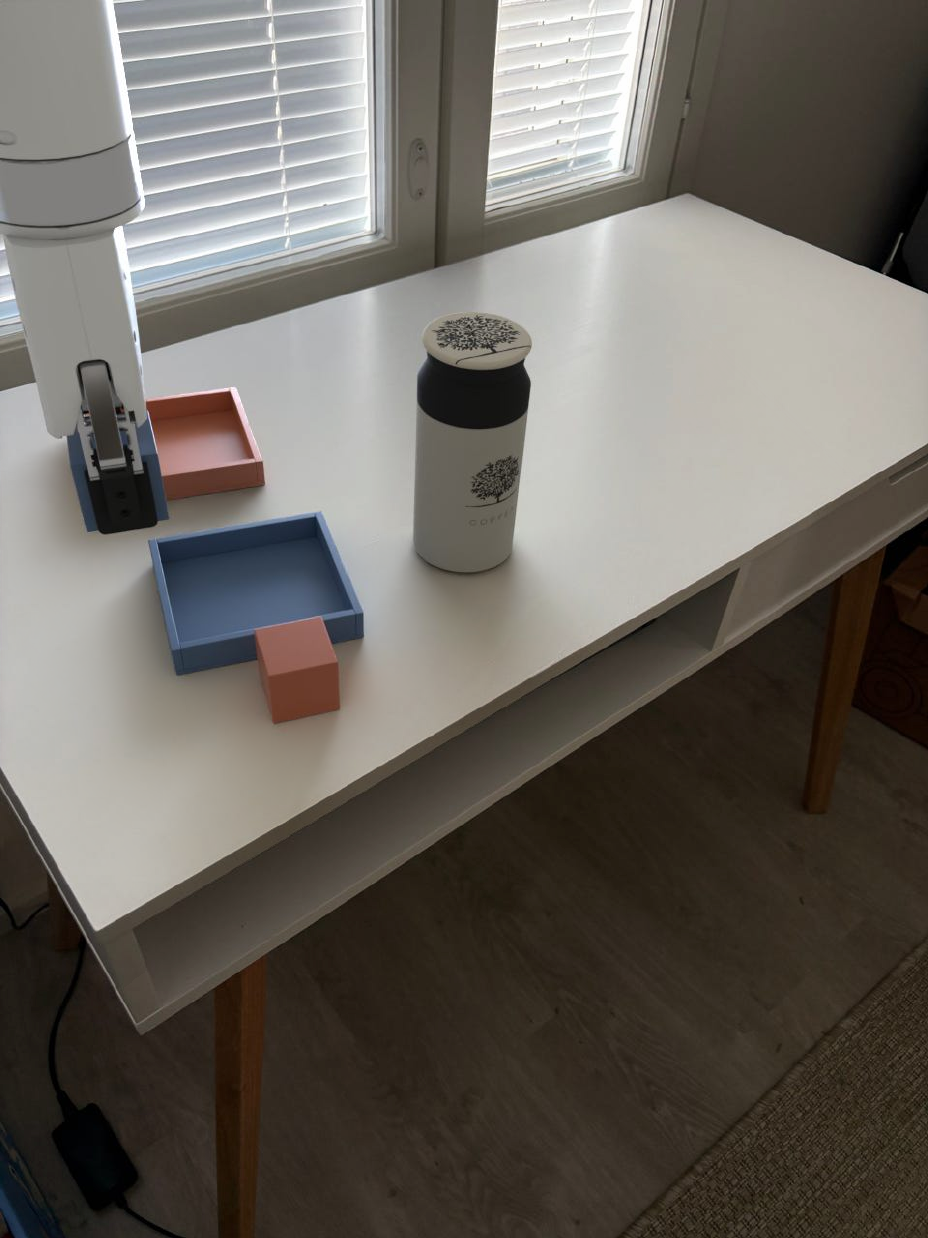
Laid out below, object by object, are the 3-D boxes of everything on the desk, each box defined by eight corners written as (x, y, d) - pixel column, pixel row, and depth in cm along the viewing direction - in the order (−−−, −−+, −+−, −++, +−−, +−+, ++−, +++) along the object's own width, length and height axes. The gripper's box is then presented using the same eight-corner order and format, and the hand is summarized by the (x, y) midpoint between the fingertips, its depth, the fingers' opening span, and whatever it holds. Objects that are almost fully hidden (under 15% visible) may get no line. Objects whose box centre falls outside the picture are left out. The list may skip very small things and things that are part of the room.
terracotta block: (273, 724, 66) (268, 676, 63) (259, 676, 69) (253, 628, 66) (340, 709, 67) (338, 662, 64) (324, 662, 70) (321, 615, 67)
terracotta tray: (101, 510, 81) (96, 486, 80) (88, 429, 89) (83, 406, 88) (265, 484, 85) (263, 461, 83) (238, 409, 93) (235, 386, 91)
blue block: (86, 533, 56) (70, 465, 53) (81, 486, 59) (64, 420, 56) (169, 520, 57) (157, 453, 54) (159, 475, 60) (147, 410, 57)
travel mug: (400, 521, 82) (403, 315, 70) (491, 506, 84) (510, 303, 72) (430, 583, 77) (439, 372, 65) (527, 565, 79) (554, 357, 67)
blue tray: (176, 676, 69) (171, 650, 67) (152, 564, 77) (147, 539, 75) (364, 637, 72) (363, 612, 71) (322, 534, 80) (321, 510, 79)
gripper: (-36, 118, 50) (47, 431, 63) (-37, 260, 39) (64, 608, 51) (120, 110, 52) (170, 415, 65) (162, 244, 41) (213, 582, 53)
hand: (123, 497), depth 58 cm, fingers closed on blue block, 4 cm apart
